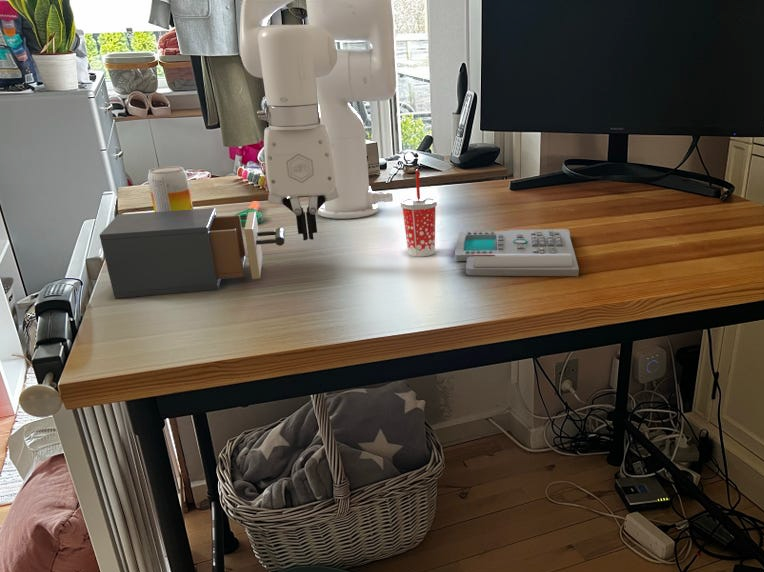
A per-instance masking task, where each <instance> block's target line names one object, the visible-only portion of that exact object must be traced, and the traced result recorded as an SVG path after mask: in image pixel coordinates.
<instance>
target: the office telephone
mask: <svg viewBox="0 0 764 572" xmlns="http://www.w3.org/2000/svg"><path fill="white" fill-rule="evenodd" d="M454 261H455V262H465V274H466V275H468V276H489V277H490V276H493V277H494V276H495V277H497V276H499V277H501V276H507V277H508V276H509V277H579V272H580V268H579V265H578V260H577V257H576V253H575V250H574V246H573V242H572V239H571V233H570V229H568V228H550V229H549V228H547V229H546V228H545V229H543V228H542V229H541V228H540V229H539V228H537V229H534V228H533V229H507V230H498V231H497V230H496V231H495V230H492V231H491V230H490V231H489V230H488V231H465V230H462V231H460V232H459V233H458V236H457V240H456V245H455V249H454Z"/></svg>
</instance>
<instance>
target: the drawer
mask: <svg viewBox="0 0 764 572" xmlns="http://www.w3.org/2000/svg"><path fill="white" fill-rule="evenodd" d="M240 220H241V219H240V215H235V214H231V215H219V216H218V215H216V217H214V218H213V221H212V224H211V226H210V229H209V235H210V240H211V246H212V252H213V257H214V263H215V269H216V274H217V279H221V280H223V279H236V278H244V273H245V268H246V264H247V255H248V263H249V269H250V274H251V275H250V276H251V279H252V280H260V279H261V273H262V267H263V252H262V245H270V244H275V245H277V246H279V247H280V246H281V247H282V246H283V245H284V244H285V235H286V234H285V233H286V232H285V229H284V228H283V227H277V228H276V229H275V230H267V231H259V224H257V217H256V212H248V215H247V218H246V219H245V220H246V225H245V226H244V228H242V227H243V226H241V221H240ZM243 229H244V230H243ZM243 231H244V235H243ZM244 236H245V241H244ZM266 236H267V237H268V236H274V238H267V239H266V238H265V239H264V238H263V239H260V238H261V237H266ZM245 242H246V243H245ZM245 244H246V247H245ZM246 250H247V251H246Z"/></svg>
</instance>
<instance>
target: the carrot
mask: <svg viewBox="0 0 764 572" xmlns="http://www.w3.org/2000/svg"><path fill="white" fill-rule="evenodd" d="M260 207H261V202H260V201H258V200H253V201H251V203H250V204H249V206H248V208H247V209H244V210H242V211H240V212H237V213H234V215H240V221H241V227H245V225H246V220H247V215H248V212H256V217H257V224H258V225H259V224H261V223H262V222H263V214H262V213H261V212H259V211H258V210H259V209H260Z"/></svg>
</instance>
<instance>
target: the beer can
mask: <svg viewBox="0 0 764 572" xmlns="http://www.w3.org/2000/svg"><path fill="white" fill-rule="evenodd" d="M147 183H148V188H149V192H150V197H151V201H152V202H151V203H152V206H153V212H163V211H178V210H193V209H194V206H193V199H192V195H191V189H190V184H189V177H188V174H187V173H186V170H185V169H184V167H183V166H180V165H179V166H178V165H170V166H168V165H167V166H159V167H154V168H150V169H149V170H148V175H147Z"/></svg>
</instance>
